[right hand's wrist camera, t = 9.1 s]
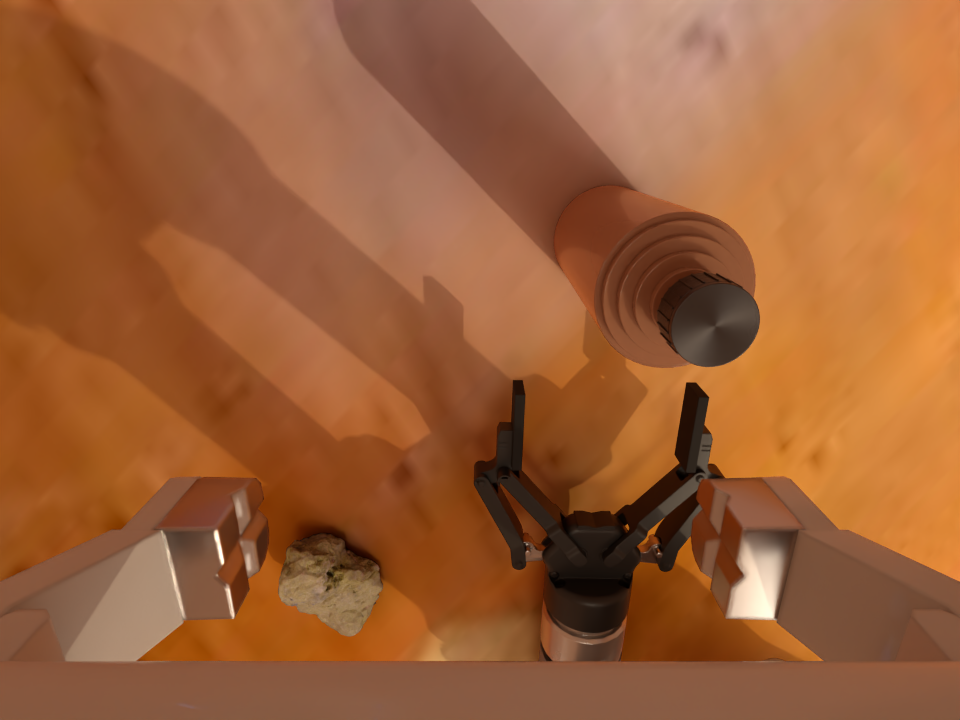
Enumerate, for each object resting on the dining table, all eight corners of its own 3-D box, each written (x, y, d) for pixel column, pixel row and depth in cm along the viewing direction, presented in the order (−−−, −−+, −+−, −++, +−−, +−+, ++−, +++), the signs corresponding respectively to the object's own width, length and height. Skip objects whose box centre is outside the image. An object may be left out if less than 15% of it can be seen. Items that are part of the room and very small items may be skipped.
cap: (660, 359, 27) (674, 376, 25) (650, 281, 25) (664, 293, 24) (742, 341, 27) (763, 357, 25) (736, 262, 25) (758, 272, 23)
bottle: (563, 300, 47) (629, 425, 26) (544, 199, 44) (602, 252, 23) (663, 277, 46) (811, 388, 26) (651, 173, 43) (807, 204, 23)
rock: (363, 613, 60) (404, 560, 56) (344, 669, 55) (389, 616, 50) (271, 570, 58) (306, 512, 54) (242, 625, 53) (278, 565, 48)
